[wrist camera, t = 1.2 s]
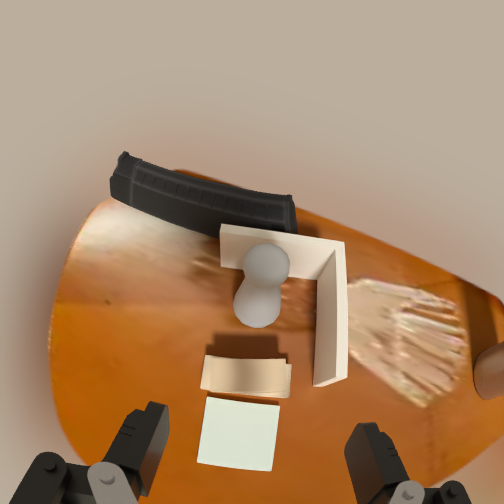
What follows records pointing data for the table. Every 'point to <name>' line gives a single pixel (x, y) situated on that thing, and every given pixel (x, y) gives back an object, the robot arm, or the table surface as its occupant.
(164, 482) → the table surface
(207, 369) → the block
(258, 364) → the offcut short
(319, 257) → the bracket
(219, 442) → the tile
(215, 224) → the magazine
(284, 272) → the salt shaker
